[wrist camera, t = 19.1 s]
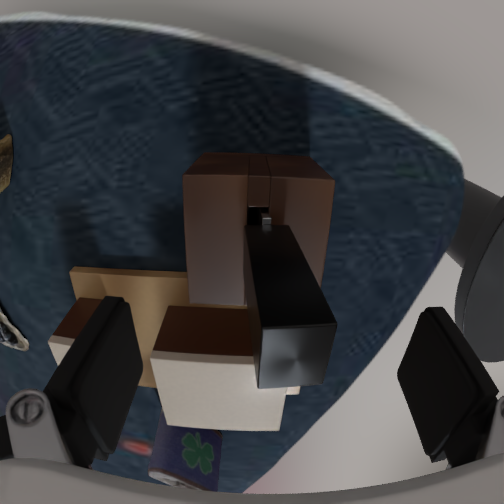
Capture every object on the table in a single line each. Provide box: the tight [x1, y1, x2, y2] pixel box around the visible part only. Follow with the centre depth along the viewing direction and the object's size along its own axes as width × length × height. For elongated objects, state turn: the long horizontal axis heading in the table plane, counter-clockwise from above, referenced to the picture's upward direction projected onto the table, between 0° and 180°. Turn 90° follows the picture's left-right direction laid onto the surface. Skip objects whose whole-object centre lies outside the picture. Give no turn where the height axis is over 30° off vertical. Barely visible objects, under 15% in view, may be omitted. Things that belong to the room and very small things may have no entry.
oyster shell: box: [0, 307, 29, 351], centre depth 27 cm, size 7×8×2 cm
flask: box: [148, 408, 223, 492], centre depth 28 cm, size 9×3×11 cm, turn 36°
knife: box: [243, 207, 337, 389], centre depth 15 cm, size 2×3×14 cm, turn 178°
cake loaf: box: [150, 305, 287, 431], centre depth 24 cm, size 9×8×6 cm
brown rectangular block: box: [48, 297, 103, 366], centre depth 23 cm, size 3×8×6 cm, turn 178°
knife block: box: [182, 152, 335, 305], centre depth 19 cm, size 7×7×7 cm
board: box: [70, 266, 300, 394], centre depth 27 cm, size 20×13×1 cm, turn 88°
